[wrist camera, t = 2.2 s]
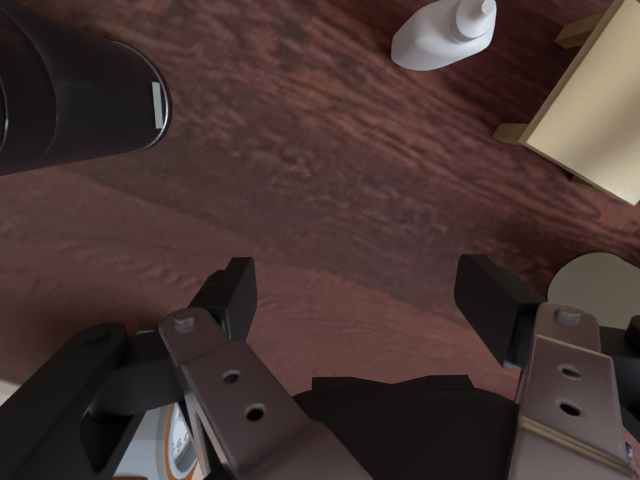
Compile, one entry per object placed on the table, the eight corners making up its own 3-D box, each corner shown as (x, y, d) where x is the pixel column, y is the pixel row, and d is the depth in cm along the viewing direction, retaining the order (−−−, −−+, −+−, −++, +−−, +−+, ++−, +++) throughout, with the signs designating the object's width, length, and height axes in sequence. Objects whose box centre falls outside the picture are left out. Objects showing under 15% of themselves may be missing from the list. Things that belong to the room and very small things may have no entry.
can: (644, 260, 36) (789, 325, 25) (600, 326, 40) (712, 408, 28) (571, 244, 36) (688, 303, 24) (533, 312, 39) (620, 392, 28)
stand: (487, 137, 31) (525, 142, 26) (564, 19, 28) (628, -6, 22) (579, 190, 33) (634, 206, 28) (662, 86, 30) (745, 79, 24)
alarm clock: (219, 417, 45) (180, 536, 32) (158, 417, 45) (95, 536, 32) (206, 330, 39) (153, 431, 27) (137, 330, 39) (51, 431, 27)
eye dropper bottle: (411, 5, 27) (476, -72, 16) (461, 44, 28) (554, -3, 17) (381, 54, 29) (422, 15, 17) (430, 90, 30) (498, 74, 19)
